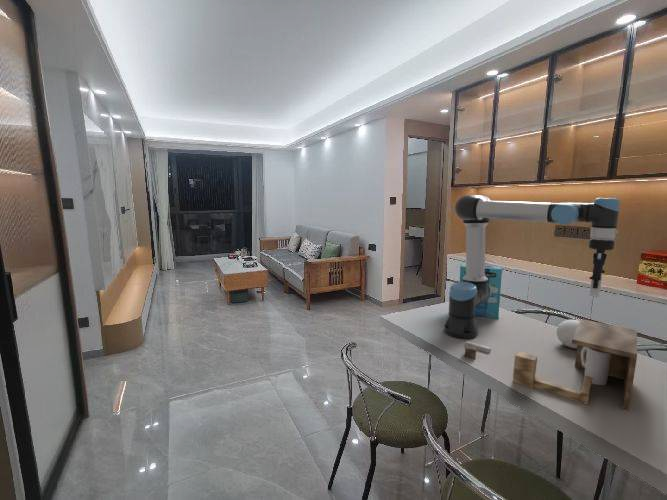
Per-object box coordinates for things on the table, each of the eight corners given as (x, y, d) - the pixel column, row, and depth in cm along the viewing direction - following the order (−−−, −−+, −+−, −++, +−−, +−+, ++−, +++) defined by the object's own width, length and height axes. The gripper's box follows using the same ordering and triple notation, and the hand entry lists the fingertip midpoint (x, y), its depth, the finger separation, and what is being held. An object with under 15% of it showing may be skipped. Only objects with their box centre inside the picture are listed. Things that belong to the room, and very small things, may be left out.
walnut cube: (464, 357, 135) (465, 348, 135) (465, 353, 139) (466, 344, 138) (475, 359, 134) (475, 350, 133) (475, 355, 137) (476, 346, 137)
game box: (498, 315, 182) (502, 266, 178) (498, 319, 176) (502, 269, 172) (458, 310, 190) (461, 263, 186) (457, 314, 184) (460, 265, 180)
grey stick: (465, 346, 146) (465, 342, 145) (466, 345, 147) (467, 340, 147) (489, 353, 139) (489, 349, 139) (490, 352, 140) (491, 347, 140)
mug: (612, 385, 115) (617, 352, 113) (595, 386, 114) (599, 353, 112) (587, 370, 125) (591, 339, 123) (571, 371, 124) (574, 341, 122)
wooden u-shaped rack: (512, 381, 118) (515, 355, 116) (522, 366, 128) (524, 341, 126) (587, 406, 104) (590, 376, 102) (591, 386, 114) (594, 359, 113)
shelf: (566, 391, 111) (572, 339, 108) (575, 364, 129) (580, 319, 126) (628, 411, 101) (637, 354, 98) (629, 379, 119) (636, 329, 116)
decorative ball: (593, 355, 136) (597, 327, 135) (559, 350, 141) (562, 323, 139) (583, 343, 148) (586, 317, 146) (552, 339, 152) (554, 314, 150)
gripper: (614, 243, 116) (606, 302, 120) (615, 236, 135) (608, 287, 138) (587, 241, 121) (580, 297, 124) (591, 234, 140) (585, 284, 143)
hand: (595, 292), depth 131 cm, fingers open, 13 cm apart
